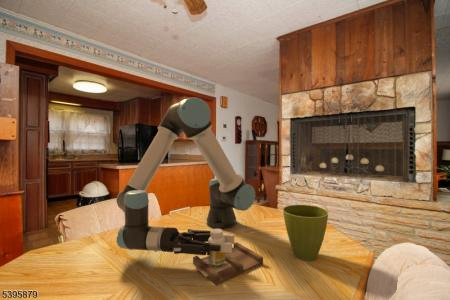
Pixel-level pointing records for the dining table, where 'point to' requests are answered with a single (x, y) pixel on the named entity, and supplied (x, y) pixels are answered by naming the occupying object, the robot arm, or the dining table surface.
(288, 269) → the dining table surface
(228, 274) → the slot board
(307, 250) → the flower pot
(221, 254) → the supplement bottle
